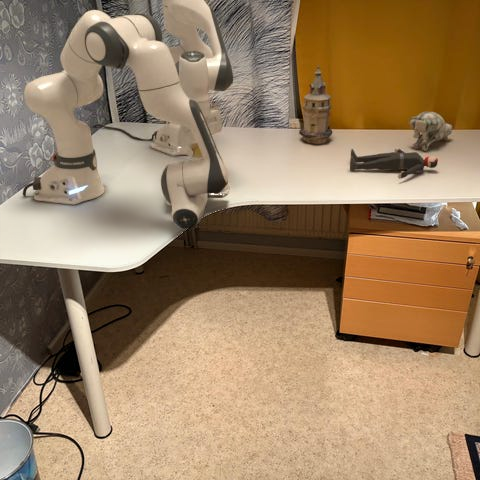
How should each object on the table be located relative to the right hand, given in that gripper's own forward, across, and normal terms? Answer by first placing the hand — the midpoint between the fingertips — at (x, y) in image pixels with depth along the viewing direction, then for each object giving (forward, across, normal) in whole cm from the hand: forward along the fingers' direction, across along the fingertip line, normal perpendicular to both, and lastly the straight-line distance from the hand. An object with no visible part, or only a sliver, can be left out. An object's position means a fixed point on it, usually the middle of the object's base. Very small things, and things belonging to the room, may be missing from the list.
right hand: (198, 152), depth 168 cm
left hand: (+9, -1, -1) cm, 9 cm away
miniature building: (+15, -69, 0) cm, 70 cm away
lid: (-2, 0, 0) cm, 2 cm away
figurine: (+15, -90, +40) cm, 100 cm away
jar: (+15, 0, 0) cm, 15 cm away
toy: (+15, -58, +39) cm, 72 cm away
